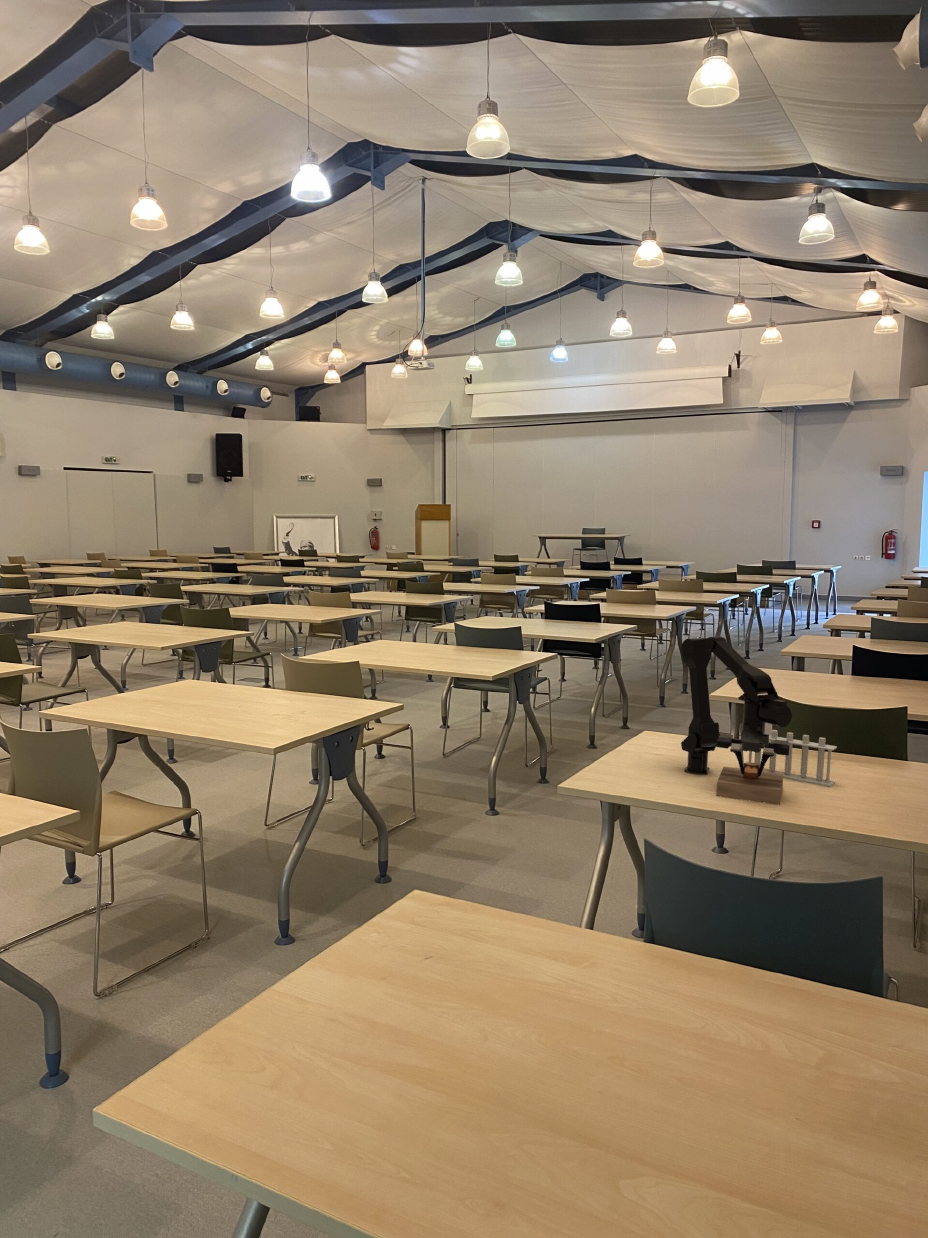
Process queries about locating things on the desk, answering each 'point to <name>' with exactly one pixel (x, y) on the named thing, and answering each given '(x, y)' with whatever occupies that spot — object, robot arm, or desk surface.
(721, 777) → the press housing
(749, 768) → the plunger
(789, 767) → the test tube rack
